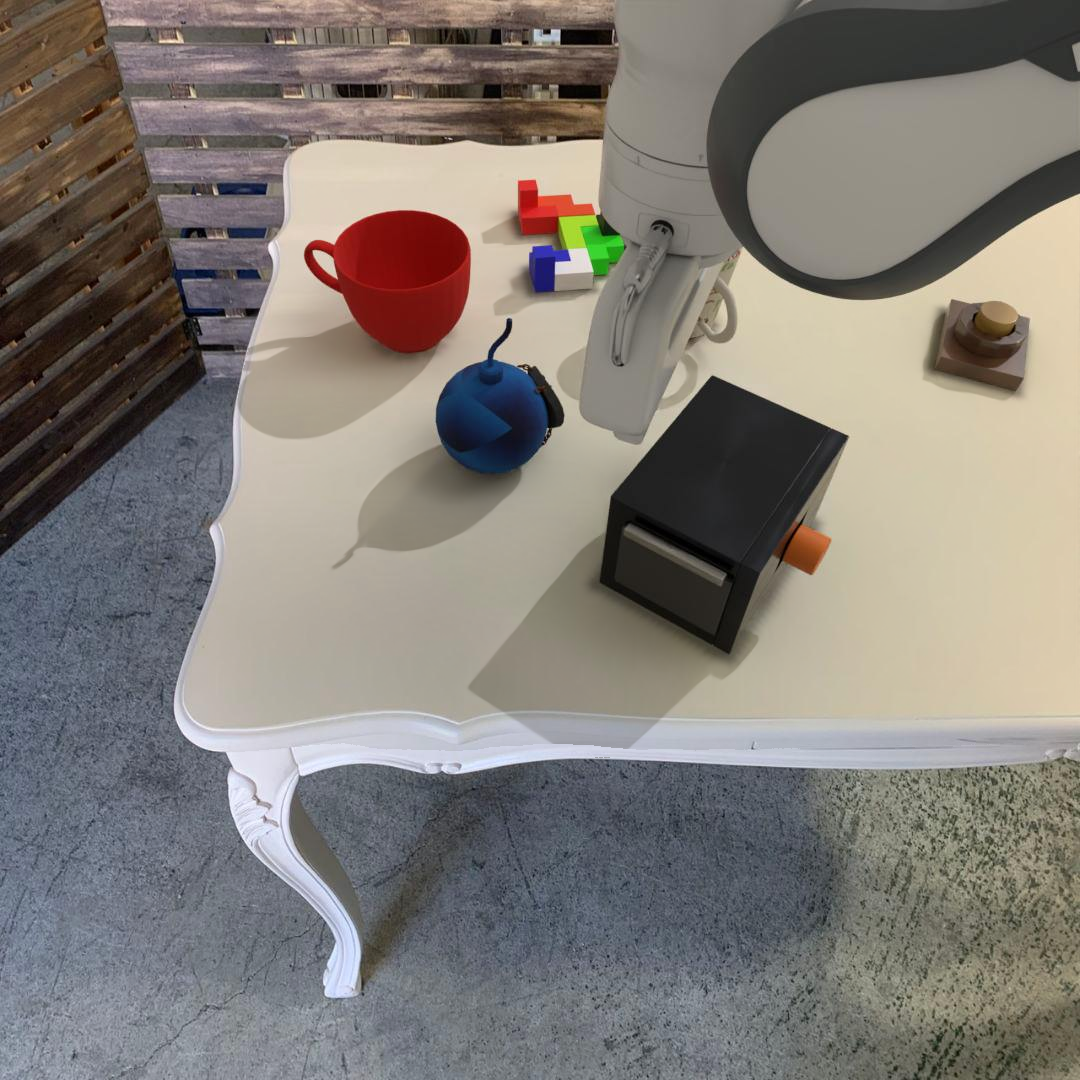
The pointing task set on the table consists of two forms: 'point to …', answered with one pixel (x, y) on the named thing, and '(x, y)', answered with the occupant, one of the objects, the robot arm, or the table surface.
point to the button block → (981, 348)
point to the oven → (717, 510)
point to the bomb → (496, 414)
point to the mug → (714, 303)
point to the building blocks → (566, 240)
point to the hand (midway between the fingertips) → (654, 383)
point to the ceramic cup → (400, 276)
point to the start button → (996, 318)
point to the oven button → (806, 549)
